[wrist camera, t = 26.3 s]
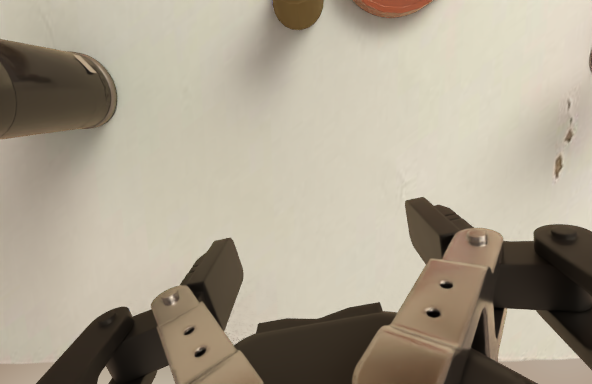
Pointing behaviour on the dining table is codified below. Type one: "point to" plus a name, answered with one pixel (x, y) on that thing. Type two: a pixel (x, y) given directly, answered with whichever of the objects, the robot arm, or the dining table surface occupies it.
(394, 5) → the dish
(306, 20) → the brown game pawn
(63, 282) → the dining table surface
